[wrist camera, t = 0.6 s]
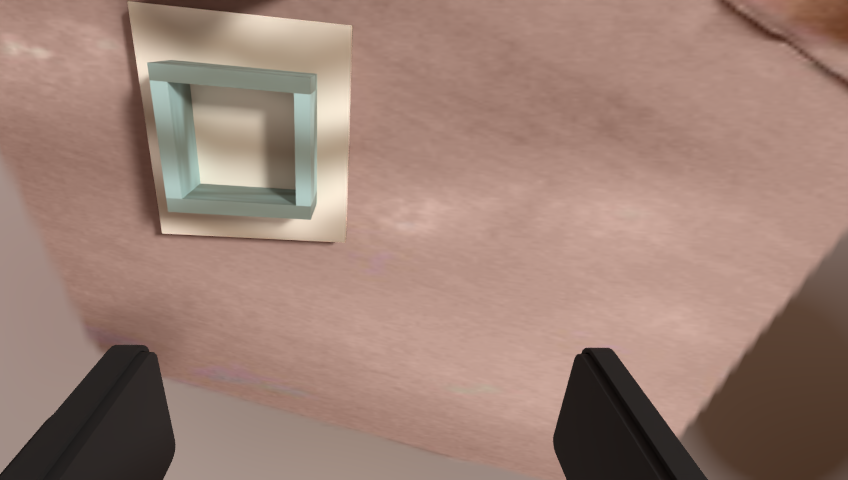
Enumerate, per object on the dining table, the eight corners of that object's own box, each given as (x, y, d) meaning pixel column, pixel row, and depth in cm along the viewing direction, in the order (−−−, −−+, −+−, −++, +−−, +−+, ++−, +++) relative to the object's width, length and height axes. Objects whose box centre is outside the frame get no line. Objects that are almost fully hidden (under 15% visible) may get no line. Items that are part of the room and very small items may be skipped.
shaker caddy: (138, 2, 30) (95, -4, 25) (352, 26, 31) (348, 24, 27) (170, 226, 36) (140, 253, 32) (346, 235, 38) (341, 262, 33)
